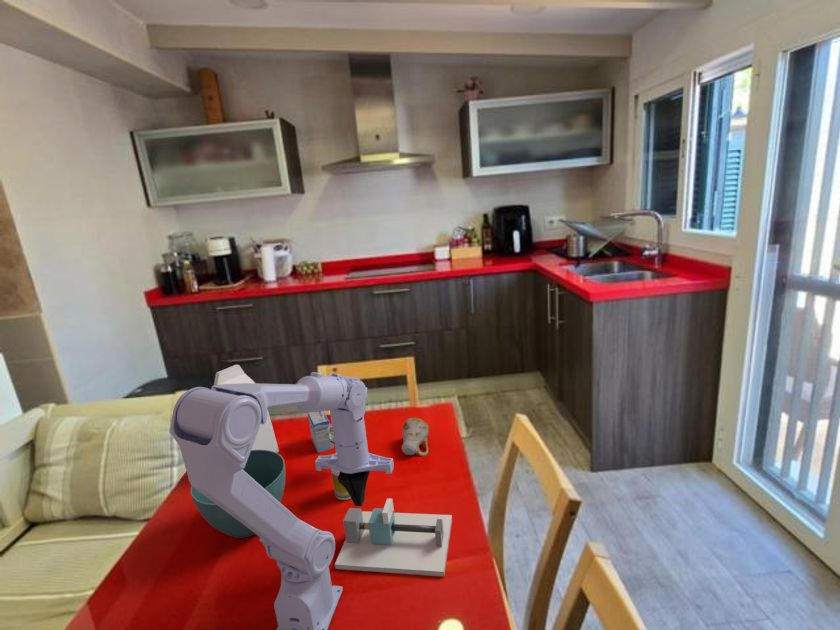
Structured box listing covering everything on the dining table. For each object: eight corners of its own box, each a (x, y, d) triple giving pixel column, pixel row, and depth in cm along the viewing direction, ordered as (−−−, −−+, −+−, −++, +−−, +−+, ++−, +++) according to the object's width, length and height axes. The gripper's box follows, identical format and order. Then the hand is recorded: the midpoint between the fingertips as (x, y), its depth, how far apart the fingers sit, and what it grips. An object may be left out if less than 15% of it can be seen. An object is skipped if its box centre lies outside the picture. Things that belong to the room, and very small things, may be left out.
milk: (242, 475, 112) (220, 381, 105) (214, 464, 118) (193, 374, 111) (279, 451, 121) (261, 363, 115) (252, 442, 128) (234, 358, 121)
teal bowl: (311, 511, 96) (302, 462, 93) (237, 571, 82) (224, 515, 79) (260, 487, 106) (250, 442, 103) (186, 536, 92) (172, 486, 89)
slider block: (391, 544, 83) (387, 513, 81) (371, 543, 84) (366, 512, 82) (396, 528, 87) (392, 498, 85) (376, 528, 87) (372, 497, 86)
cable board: (444, 576, 77) (441, 548, 75) (335, 568, 80) (330, 541, 79) (452, 519, 90) (449, 494, 88) (358, 515, 94) (355, 490, 92)
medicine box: (312, 440, 125) (307, 413, 123) (327, 435, 127) (322, 408, 125) (317, 453, 118) (313, 424, 116) (334, 448, 120) (329, 420, 118)
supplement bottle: (354, 501, 98) (348, 463, 96) (331, 500, 99) (325, 462, 97) (361, 486, 103) (356, 449, 101) (340, 484, 104) (334, 448, 102)
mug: (395, 460, 113) (390, 420, 115) (412, 456, 121) (408, 419, 124) (421, 456, 110) (415, 416, 112) (437, 453, 118) (431, 415, 121)
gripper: (394, 428, 82) (401, 490, 85) (322, 426, 85) (331, 487, 88) (384, 449, 75) (392, 516, 79) (306, 446, 78) (317, 511, 82)
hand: (359, 502), depth 83 cm, fingers closed
